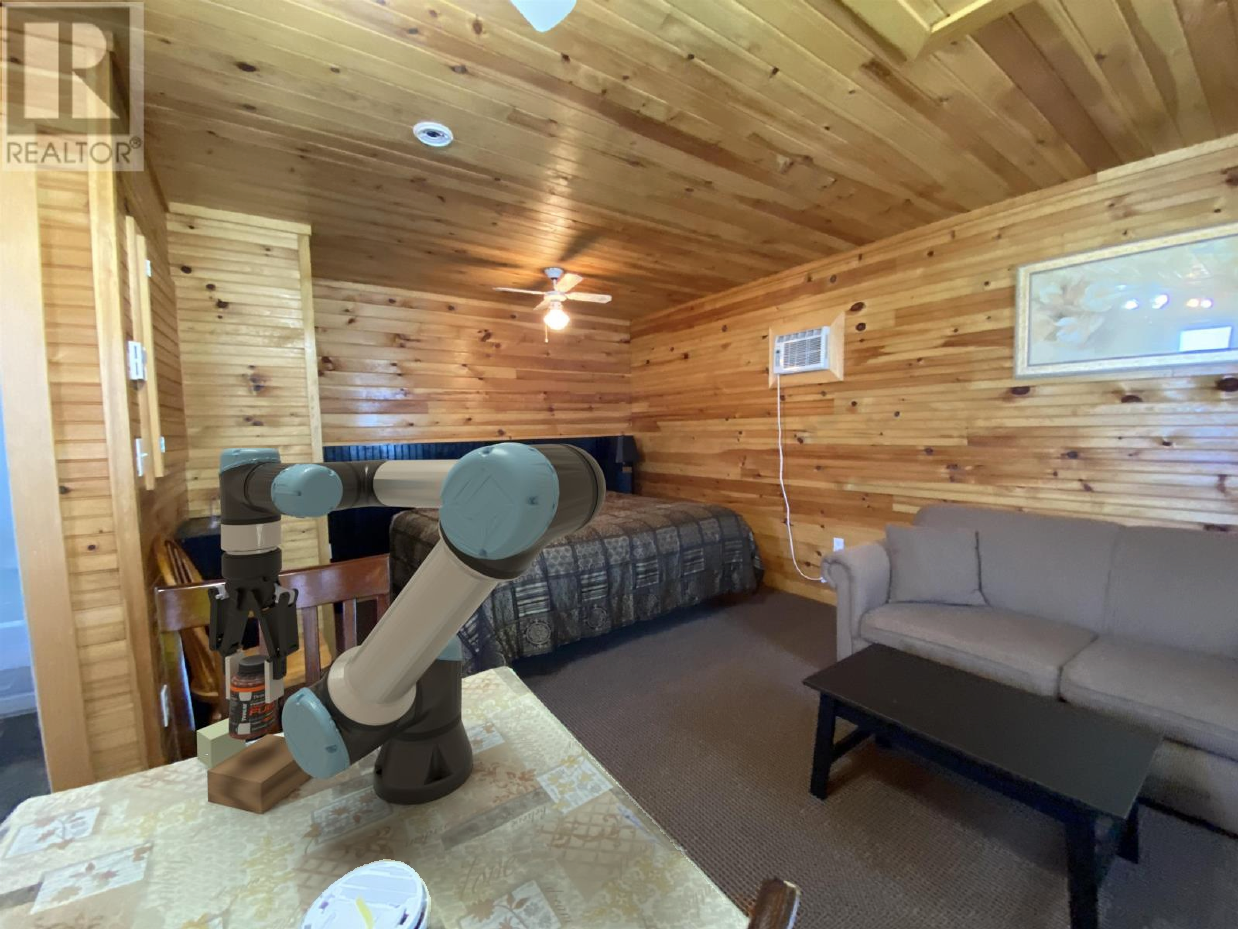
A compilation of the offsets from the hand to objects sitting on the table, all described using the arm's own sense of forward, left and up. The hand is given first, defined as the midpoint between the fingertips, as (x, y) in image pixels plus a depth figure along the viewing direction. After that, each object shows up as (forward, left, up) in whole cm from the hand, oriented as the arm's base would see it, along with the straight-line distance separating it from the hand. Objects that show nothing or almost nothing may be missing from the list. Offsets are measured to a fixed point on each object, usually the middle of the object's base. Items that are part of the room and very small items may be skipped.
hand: (255, 696), depth 80 cm
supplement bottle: (0, 0, -5) cm, 6 cm away
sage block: (+12, -5, -14) cm, 19 cm away
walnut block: (-1, 0, -14) cm, 15 cm away
